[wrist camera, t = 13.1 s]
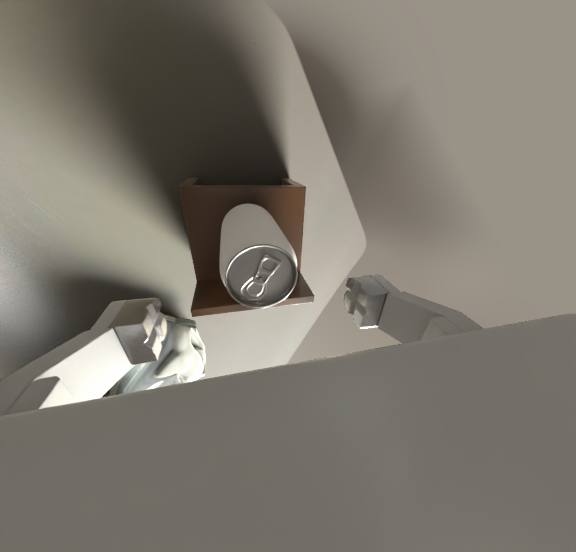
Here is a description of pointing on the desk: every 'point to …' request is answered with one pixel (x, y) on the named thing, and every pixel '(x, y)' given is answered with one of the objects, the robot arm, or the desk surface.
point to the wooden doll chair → (207, 235)
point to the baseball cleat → (168, 360)
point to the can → (256, 258)
